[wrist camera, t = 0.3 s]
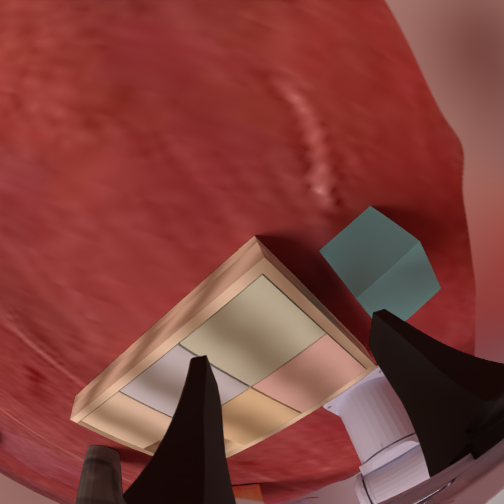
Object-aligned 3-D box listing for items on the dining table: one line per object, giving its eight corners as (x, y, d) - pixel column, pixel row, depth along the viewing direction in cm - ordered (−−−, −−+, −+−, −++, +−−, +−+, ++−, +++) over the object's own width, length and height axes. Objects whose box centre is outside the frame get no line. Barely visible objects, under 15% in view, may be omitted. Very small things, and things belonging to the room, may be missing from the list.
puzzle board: (254, 235, 20) (264, 257, 18) (363, 345, 28) (377, 367, 25) (75, 396, 25) (70, 419, 22) (195, 450, 32) (197, 470, 30)
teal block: (396, 248, 23) (440, 288, 18) (350, 288, 24) (386, 336, 19) (370, 205, 21) (419, 241, 16) (318, 250, 22) (355, 298, 17)
